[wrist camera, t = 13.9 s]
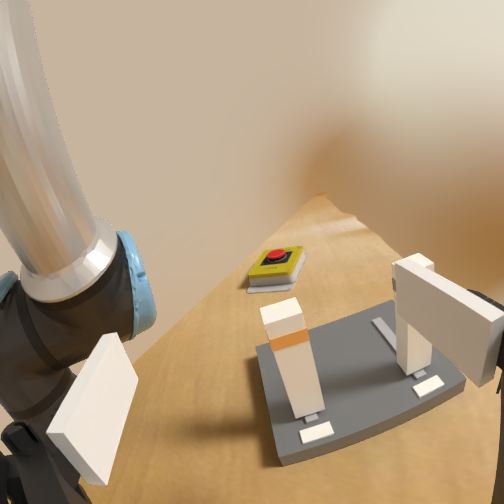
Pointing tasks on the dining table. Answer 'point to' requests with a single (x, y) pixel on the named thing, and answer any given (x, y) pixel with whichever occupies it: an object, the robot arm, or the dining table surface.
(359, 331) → the panel
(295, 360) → the block
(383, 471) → the dining table surface
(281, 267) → the emergency button
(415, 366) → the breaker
